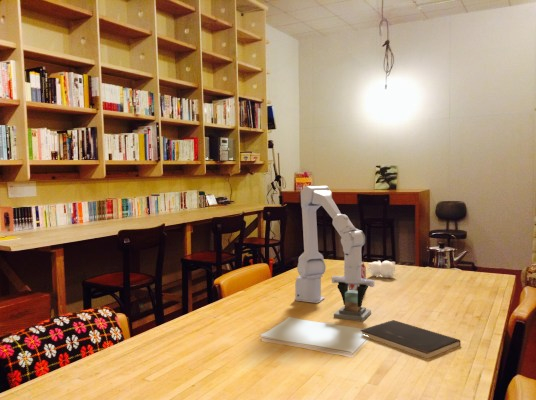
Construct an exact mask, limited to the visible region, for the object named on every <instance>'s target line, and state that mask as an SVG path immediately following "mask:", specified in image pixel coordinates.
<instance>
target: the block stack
mask: <svg viewBox="0 0 536 400" xmlns="http://www.w3.org/2000/svg"><path fill="white" fill-rule="evenodd" d="M344 306H345V310H346V311H353V312H359V311H360V310H361V307H362V306H361V307H358V291H355V290H349V289H348V291H346V292H345V305H344Z"/></svg>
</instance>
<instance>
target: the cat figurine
mask: <svg viewBox="0 0 536 400" xmlns="http://www.w3.org/2000/svg"><path fill="white" fill-rule="evenodd" d="M367 265H368V267H367V271H369V272H370V274H371V276H373V277H376V278H377V277H378V278H379V276H380V275H381V276H382V277H383V278H385V279H389V278H394V277H395V271H396V267H395V265H396V261H389V260H384V261H382V262H381V260H377V261H372V262H368V263H367Z"/></svg>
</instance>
